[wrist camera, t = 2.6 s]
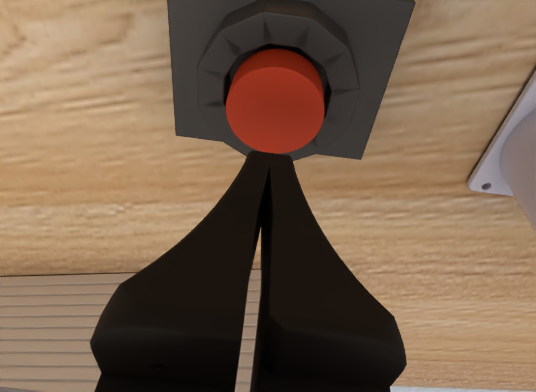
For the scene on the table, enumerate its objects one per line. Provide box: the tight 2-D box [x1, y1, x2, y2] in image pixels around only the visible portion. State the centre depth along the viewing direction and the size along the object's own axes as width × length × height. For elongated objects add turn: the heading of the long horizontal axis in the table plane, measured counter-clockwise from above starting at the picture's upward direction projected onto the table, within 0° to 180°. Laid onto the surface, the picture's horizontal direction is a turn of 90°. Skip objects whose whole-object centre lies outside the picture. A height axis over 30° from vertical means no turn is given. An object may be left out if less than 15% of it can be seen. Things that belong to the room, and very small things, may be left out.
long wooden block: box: [0, 270, 261, 392], centre depth 32 cm, size 32×11×11 cm, turn 98°
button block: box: [167, 0, 415, 161], centre depth 18 cm, size 10×8×4 cm
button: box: [226, 49, 324, 153], centre depth 16 cm, size 4×4×2 cm
